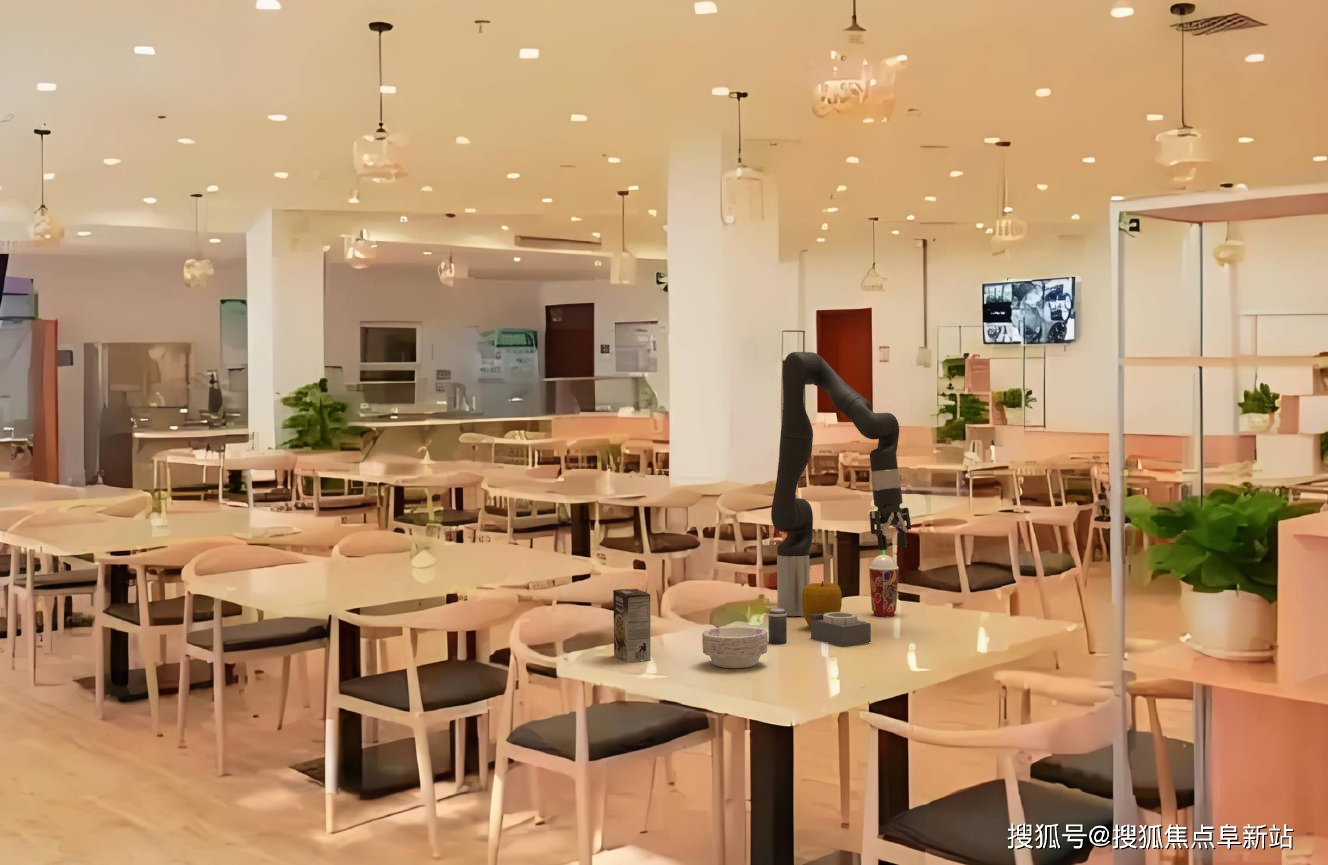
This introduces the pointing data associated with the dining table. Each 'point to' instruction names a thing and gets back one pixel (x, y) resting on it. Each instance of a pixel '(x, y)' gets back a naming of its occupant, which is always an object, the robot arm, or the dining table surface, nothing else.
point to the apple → (820, 599)
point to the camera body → (840, 628)
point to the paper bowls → (735, 646)
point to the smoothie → (883, 585)
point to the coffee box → (631, 624)
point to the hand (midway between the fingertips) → (893, 548)
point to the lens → (777, 626)
